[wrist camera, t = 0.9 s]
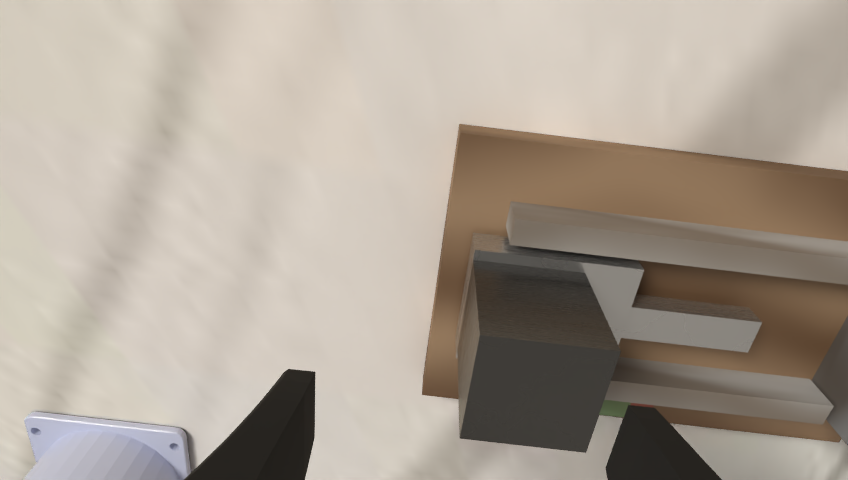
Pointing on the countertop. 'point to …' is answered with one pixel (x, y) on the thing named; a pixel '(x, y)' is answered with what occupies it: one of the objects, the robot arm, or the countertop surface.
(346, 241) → the countertop surface
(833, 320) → the base
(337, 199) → the countertop surface
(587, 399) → the plunger
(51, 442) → the robot arm
